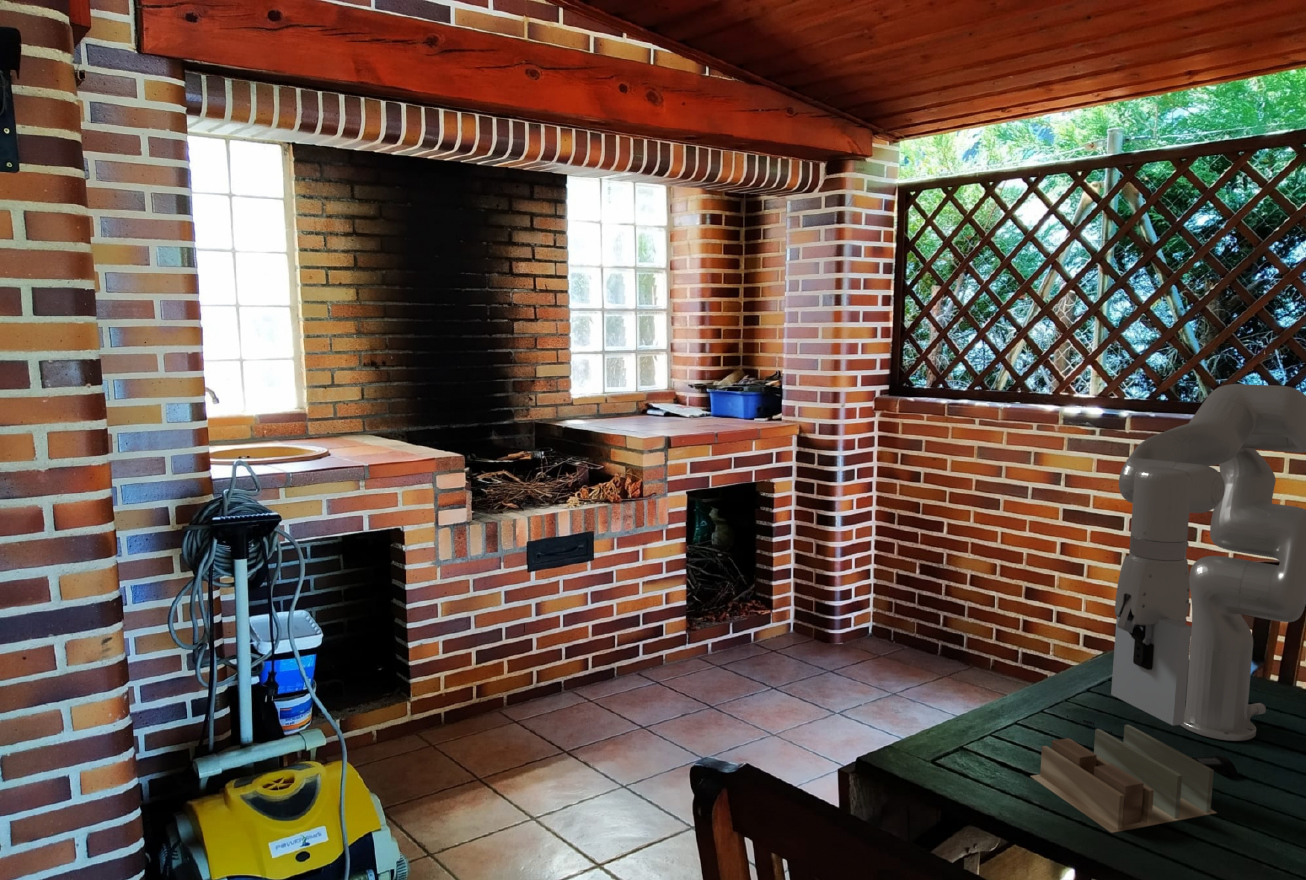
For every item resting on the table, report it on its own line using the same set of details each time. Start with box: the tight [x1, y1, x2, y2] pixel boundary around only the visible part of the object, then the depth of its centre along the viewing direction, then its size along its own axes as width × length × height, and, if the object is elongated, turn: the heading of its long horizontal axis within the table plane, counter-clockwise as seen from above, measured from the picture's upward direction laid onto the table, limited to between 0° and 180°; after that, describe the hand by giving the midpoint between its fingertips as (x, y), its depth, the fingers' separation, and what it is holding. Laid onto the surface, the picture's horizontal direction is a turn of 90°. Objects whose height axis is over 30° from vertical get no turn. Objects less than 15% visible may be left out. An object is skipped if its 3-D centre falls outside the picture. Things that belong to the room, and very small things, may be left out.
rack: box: [1030, 724, 1218, 834], centre depth 138 cm, size 19×17×8 cm
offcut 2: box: [1094, 764, 1144, 826], centre depth 133 cm, size 3×6×6 cm, turn 16°
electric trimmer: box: [1191, 754, 1239, 778], centre depth 148 cm, size 4×16×3 cm, turn 93°
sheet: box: [1110, 616, 1192, 726], centre depth 139 cm, size 2×12×15 cm, turn 16°
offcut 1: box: [1051, 737, 1097, 776], centre depth 141 cm, size 3×6×6 cm, turn 16°
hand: (1149, 665), depth 139 cm, fingers closed on sheet, 1 cm apart
